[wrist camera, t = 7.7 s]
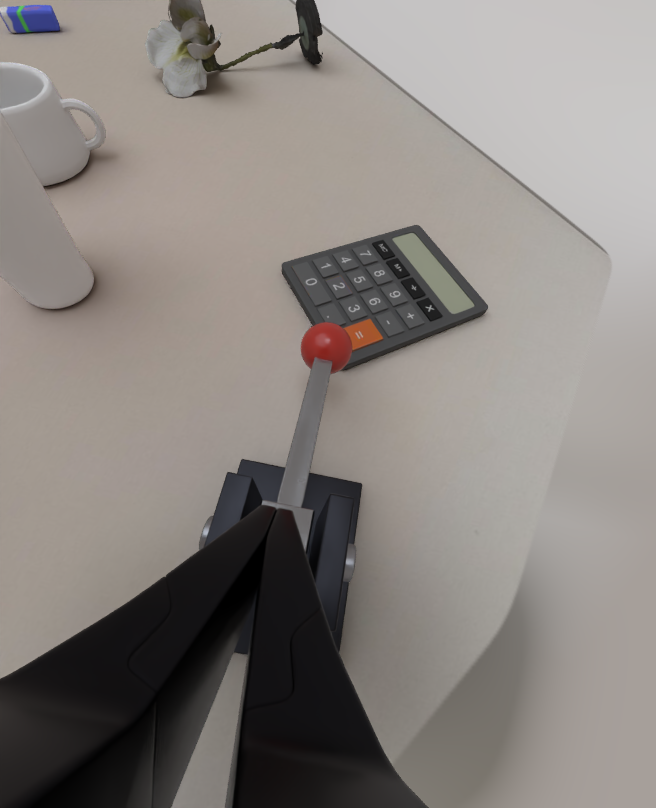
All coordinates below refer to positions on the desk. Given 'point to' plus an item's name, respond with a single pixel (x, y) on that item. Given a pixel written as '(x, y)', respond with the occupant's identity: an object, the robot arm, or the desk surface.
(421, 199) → the desk surface
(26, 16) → the eraser
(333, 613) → the switch bracket
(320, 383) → the lever
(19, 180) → the drinking glass
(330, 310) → the calculator
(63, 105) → the mug
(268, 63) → the desk surface
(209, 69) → the artificial flower
